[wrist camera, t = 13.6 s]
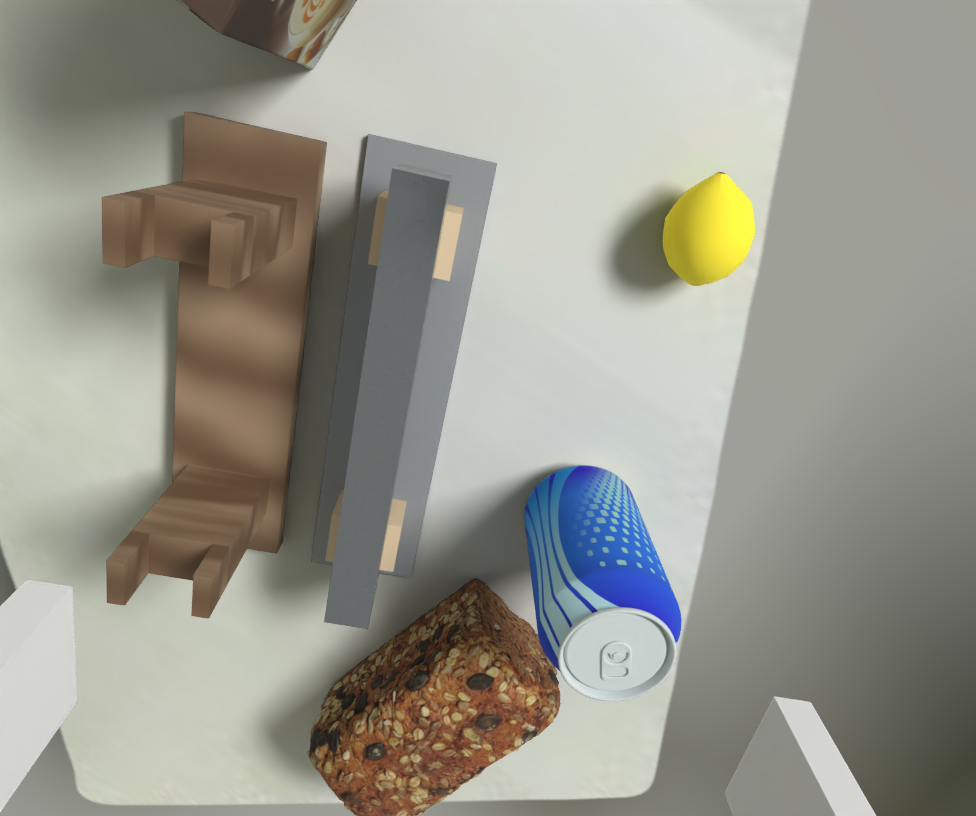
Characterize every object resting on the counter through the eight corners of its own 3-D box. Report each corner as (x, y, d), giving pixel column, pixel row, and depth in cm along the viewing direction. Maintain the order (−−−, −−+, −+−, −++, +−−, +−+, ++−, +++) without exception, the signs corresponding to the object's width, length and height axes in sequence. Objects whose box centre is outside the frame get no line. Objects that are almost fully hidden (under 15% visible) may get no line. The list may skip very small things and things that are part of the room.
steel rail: (400, 163, 38) (391, 167, 34) (452, 175, 38) (449, 181, 34) (335, 584, 49) (324, 622, 45) (375, 591, 49) (367, 629, 46)
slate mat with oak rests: (369, 134, 41) (358, 135, 37) (496, 163, 41) (498, 167, 38) (312, 557, 53) (300, 590, 49) (411, 574, 54) (406, 607, 50)
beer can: (501, 516, 52) (511, 671, 37) (568, 436, 49) (608, 570, 34) (585, 567, 54) (625, 734, 39) (653, 494, 51) (725, 643, 36)
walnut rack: (194, 112, 40) (74, 107, 28) (326, 142, 41) (264, 149, 29) (178, 524, 51) (88, 645, 40) (282, 542, 52) (224, 665, 40)
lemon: (721, 274, 45) (748, 305, 40) (643, 267, 45) (661, 297, 40) (752, 167, 41) (785, 187, 37) (667, 159, 41) (690, 178, 36)
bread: (402, 746, 62) (388, 855, 52) (318, 681, 58) (288, 785, 49) (558, 642, 57) (574, 741, 48) (477, 565, 54) (476, 656, 44)
